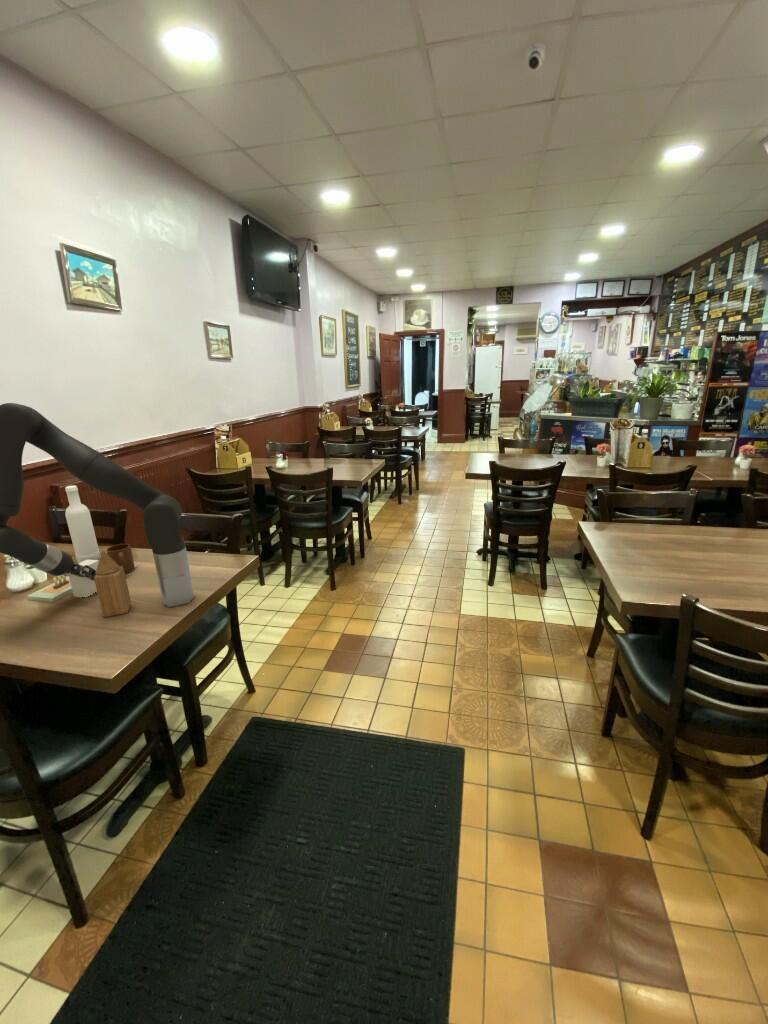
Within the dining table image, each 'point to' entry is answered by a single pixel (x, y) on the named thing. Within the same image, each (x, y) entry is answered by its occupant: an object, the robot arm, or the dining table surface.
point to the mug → (122, 556)
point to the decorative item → (111, 587)
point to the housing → (84, 581)
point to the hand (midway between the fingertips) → (91, 578)
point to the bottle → (81, 527)
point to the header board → (53, 590)
